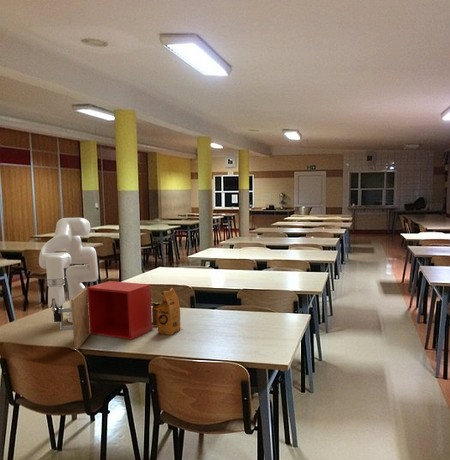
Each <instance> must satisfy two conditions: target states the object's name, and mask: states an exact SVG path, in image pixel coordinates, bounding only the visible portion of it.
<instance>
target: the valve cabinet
mask: <svg viewBox="0 0 450 460" xmlns="http://www.w3.org/2000/svg"><path fill="white" fill-rule="evenodd" d="M86 288H87V295H88V311H89V327H90V334H89V335H98V336H102V337H103V336H104V337H110V338H117V339H124V340H130V341H131V340H134V339H136V338H138V337H141V336H143V335H144V334H147V333H149V332H151V331H153V327H152V322H153V320H152V291H151V290H152V289H151V284H150V283H141V282H140V283H139V282H126V281H114V280H109V281H105V282H101V283H98V284H95V285H91V286H87V287H86Z"/></svg>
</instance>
